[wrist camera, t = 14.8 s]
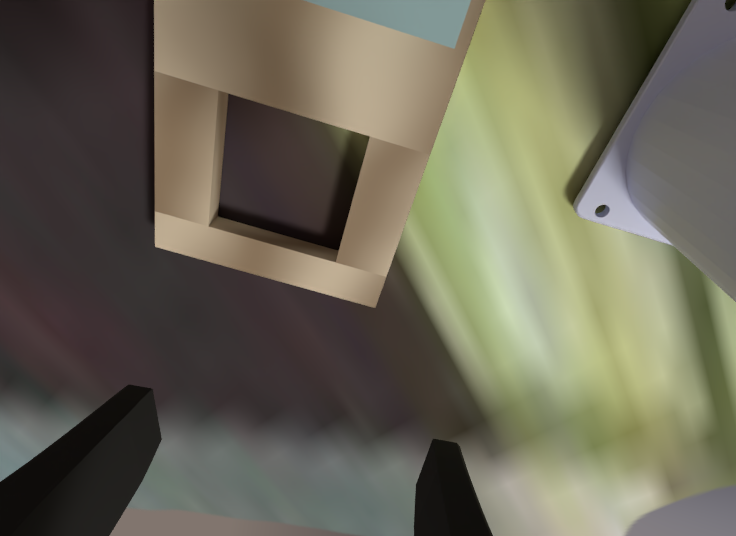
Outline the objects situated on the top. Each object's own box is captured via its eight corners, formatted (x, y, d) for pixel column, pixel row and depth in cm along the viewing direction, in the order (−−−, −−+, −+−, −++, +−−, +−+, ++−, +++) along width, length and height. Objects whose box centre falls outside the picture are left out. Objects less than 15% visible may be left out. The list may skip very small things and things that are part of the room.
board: (548, -190, 11) (559, -207, 10) (376, 295, 20) (375, 307, 19) (174, -326, 10) (152, -355, 10) (166, 236, 19) (154, 246, 18)
